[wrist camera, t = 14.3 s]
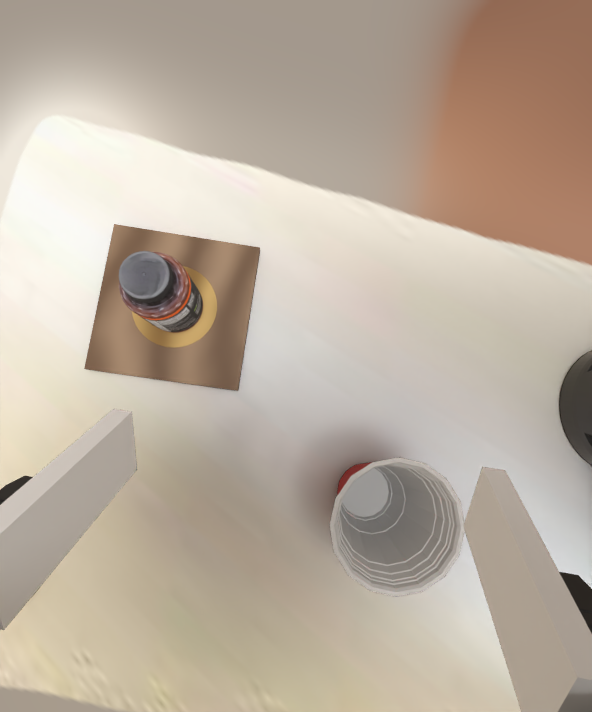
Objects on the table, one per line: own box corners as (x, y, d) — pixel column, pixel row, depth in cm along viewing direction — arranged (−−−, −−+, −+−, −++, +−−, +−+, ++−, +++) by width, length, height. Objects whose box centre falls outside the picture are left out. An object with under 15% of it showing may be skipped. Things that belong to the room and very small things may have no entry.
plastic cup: (296, 520, 42) (308, 567, 30) (337, 425, 43) (363, 435, 31) (389, 561, 42) (437, 625, 30) (426, 466, 43) (486, 491, 32)
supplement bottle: (142, 286, 42) (97, 245, 31) (197, 274, 43) (173, 229, 32) (154, 340, 42) (112, 317, 31) (210, 327, 42) (189, 300, 31)
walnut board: (259, 251, 45) (259, 247, 44) (237, 390, 43) (237, 390, 42) (117, 228, 44) (113, 223, 43) (88, 369, 42) (83, 368, 41)
